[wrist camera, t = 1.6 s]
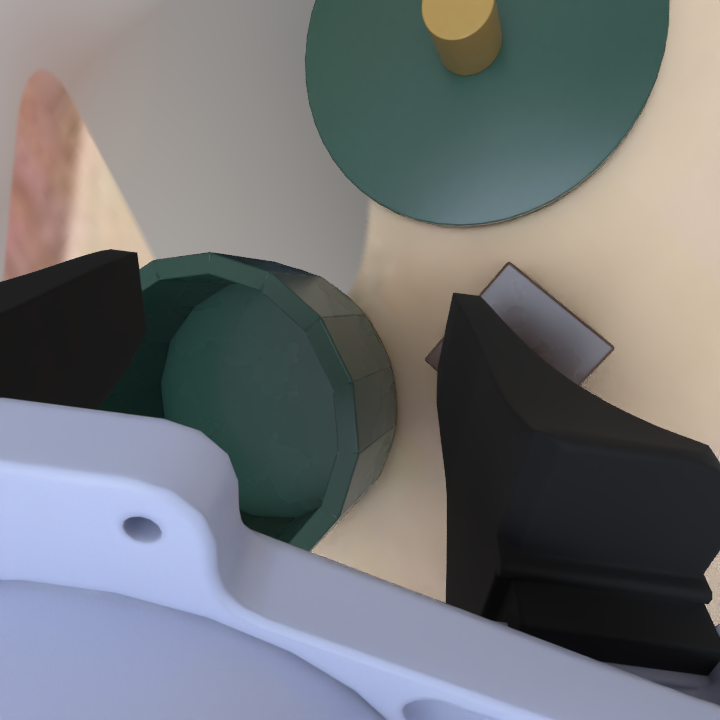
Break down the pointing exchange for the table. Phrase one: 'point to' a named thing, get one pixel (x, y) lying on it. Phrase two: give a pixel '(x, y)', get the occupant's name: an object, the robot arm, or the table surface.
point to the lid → (478, 97)
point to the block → (542, 325)
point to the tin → (266, 385)
